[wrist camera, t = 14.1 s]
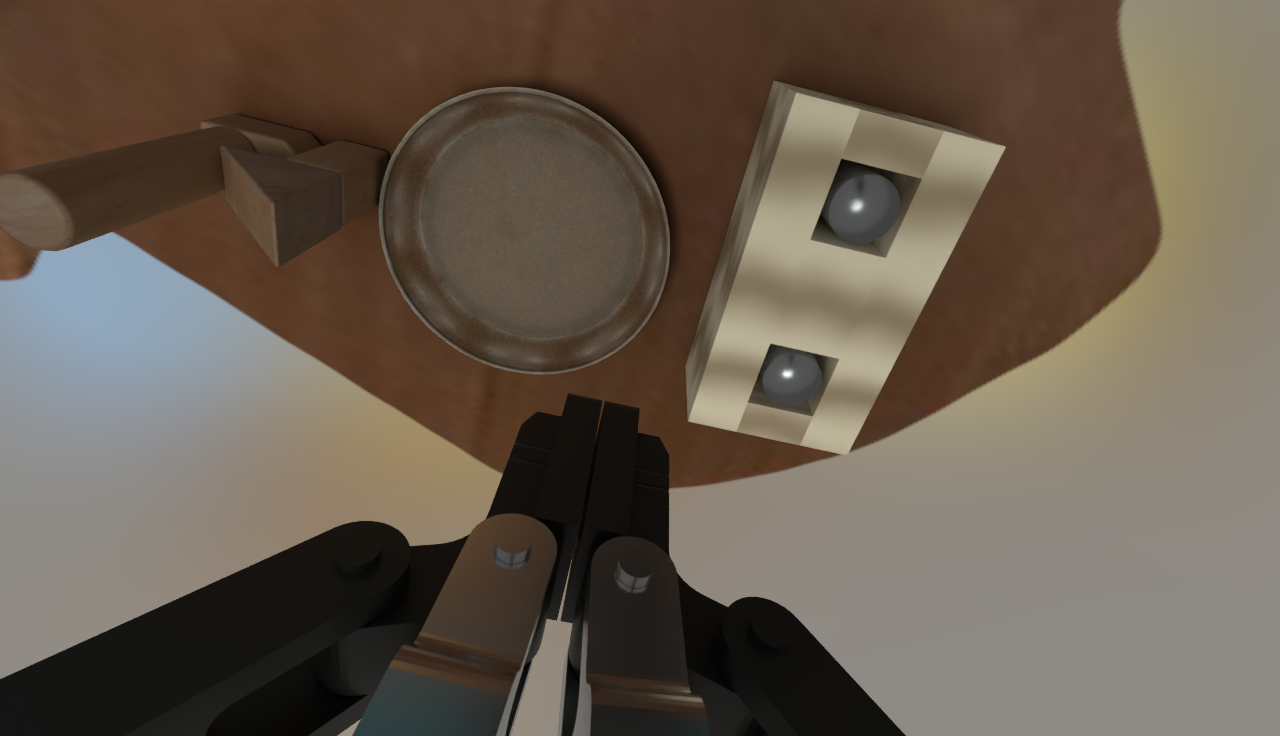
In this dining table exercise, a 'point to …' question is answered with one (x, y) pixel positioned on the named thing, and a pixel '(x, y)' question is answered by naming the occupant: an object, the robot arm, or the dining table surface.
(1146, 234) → the dining table surface
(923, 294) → the birch block
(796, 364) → the outer peg
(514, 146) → the plant saucer
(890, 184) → the inner peg
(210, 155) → the wooden block
